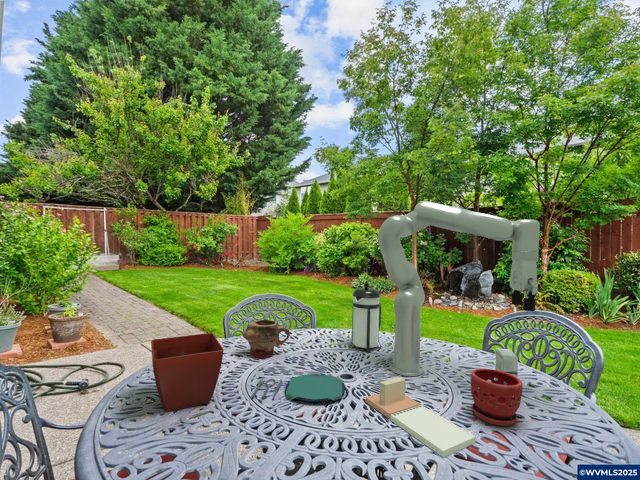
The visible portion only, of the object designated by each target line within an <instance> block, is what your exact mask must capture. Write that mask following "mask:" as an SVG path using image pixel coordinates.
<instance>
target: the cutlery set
mask: <svg viewBox="0 0 640 480" xmlns="http://www.w3.org/2000/svg"><path fill="white" fill-rule="evenodd" d="M264 382H265V385H266V389H265V390H264V392H263V394H262V396H261V399H262V400H265V398H266V395H267V393H268V391H269V389H270V387H273V386H274V385H275V384H276V379H274V378H270V379H267V380H266V381H265V379H262V378H261V379H260V380H259V381H258V382H257V383H256V386H257V387H256V389H254V391H253V392H252V395H251V396H250V399H251V400H253V399H254V398H255V396H256V395H257V393H258V391H259V389H260V388H261V387H263V385H264ZM270 382H273V384H271V385H268V383H270ZM282 384H283V380H282V379H280V380H279V382H278V384H277V386H276V387H275V389H274V394H273V397H272V398H271V401H275V398H276V395H277V393H278V392H279V390H280V388H281V386H282ZM346 389H347V387H346V384H345V383H344V381H343V379H341V378H339V377H337V376H334V375H332V374H328V375H327V374H318V373H317V374H305V373H304V374H301V375H298V376H295V377H292V378H291V379H290V380H289V381H288V382H287V383H285V392H286V397H287V399H288V400H290V401H293V400H294V399H297V400H301V401H302V402H303V401H304V402H313V403H314V402H315V403H318V402H320V403H321V402H327V401H333V402H335V401H337V400H339V399H341V398H342V397H343V395H344V394H345V391H346Z"/></svg>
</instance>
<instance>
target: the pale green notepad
mask: <svg viewBox="0 0 640 480" xmlns="http://www.w3.org/2000/svg"><path fill="white" fill-rule="evenodd" d="M389 420H390V421H391V422H392V423H394V424H395V425H397V426H398V427H400V428H401V429H402V430H404V431H405V432H406V433H408V434H409V435H411V436H412V437H414V438H415V439H416V440H418V441H419V442H421V444H423V445H425V446H427V447H428V448H430V449H431V450H432V451H434V452H435V453H436V454H438V455H440V457H442V458H445V457H447V456H450V455H451V454H454V453H455V452H456V453H457V452H458V451H461V450H462V449H465V448H467V447H469V446H471V445H473V444H475V443H476V440H477V439H476V438H477V437H476V436H475V435H473V434H472V433H470V432H469V431H467V430H466V429H464V428H462V427H461V426H459V425H456V424H455V423H453V422H452V421H450V420H448V419H446V418H445V417H443V416H442V415H439V414H437V413H436V412H434V411H433V410H431V409H428V408H427V406H426V407H425V406H424V405H422V404H420V405H419V406H416V407H413V408H410V409H407V410H403V411H400V412H397V413H394V414H391V415H390V419H389Z"/></svg>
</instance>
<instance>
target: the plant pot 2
mask: <svg viewBox="0 0 640 480" xmlns="http://www.w3.org/2000/svg"><path fill="white" fill-rule="evenodd" d="M495 378H497V379H498V381H496V380H495ZM489 380H490V381H489ZM504 382H506V383H507V385H505V384H504ZM470 392H471V398H472V400H473V402H474V403H472V405H471V409H472V412H473V413H474V414H475V416H476V417H477V418H479V419H481V420H482V421H484V422H486V423H487V424H492V425H497V426H504V427H505V426H512V425H513V424H516V423H517V421H518V415H517V414H516V413H517V412H518V410H519V407H520V406H521V402H522V401H521V400H522V394H523V382H522V380H521V379H520V378H517V377H515V376H513V375H511V374H508V373H505V372H502V371H498V370H496V369H492V368H475V369H473V370H472V371H471V374H470Z"/></svg>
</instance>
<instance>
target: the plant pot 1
mask: <svg viewBox="0 0 640 480" xmlns="http://www.w3.org/2000/svg"><path fill="white" fill-rule="evenodd" d="M150 346H151V348H150V349H151V360H152V361H151V363H152V370H153V377H154V380H155V381H154V382H155V387H156V391H157V394H158V397H159V400H160V404H161V406H162V410H163V412H166V413H167V412H173V411H176V410H177V411H178V410H182V409H186V408H190V407H191V408H192V407H195V406H201V405H204V404H205V405H206V404H209V403H211V400H212V399H213V395H214V392H215V390H216V386H217V383H218V380H219V376H220V372H221V367H222V364H223V363H222V362H223V356H224V350H225V349H224V347H222V345H221V343H220V341H219V340H218V338H217V337H216V336H215V333H213V332H207V333H199V334H198V333H196V334H189V335H182V336H173V337H166V338H165V337H162V338H156V339H152V340H150Z"/></svg>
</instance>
